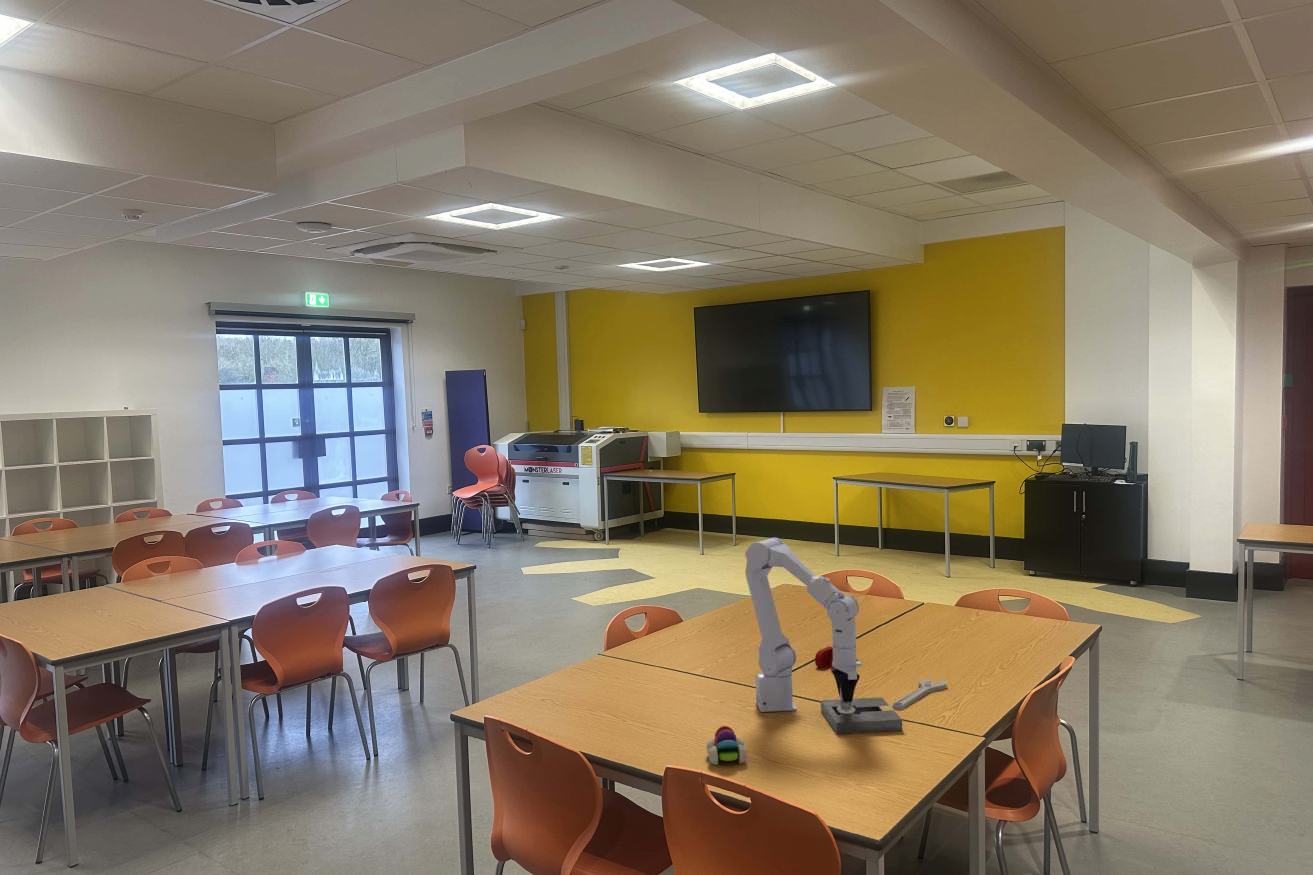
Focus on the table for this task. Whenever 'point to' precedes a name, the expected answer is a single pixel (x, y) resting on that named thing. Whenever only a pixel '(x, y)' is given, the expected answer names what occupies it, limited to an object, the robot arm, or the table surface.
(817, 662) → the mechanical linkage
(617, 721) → the table surface
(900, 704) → the adjustable wrench
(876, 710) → the keyhole plate
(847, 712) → the steel peg
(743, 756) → the colorful toy go-kart
